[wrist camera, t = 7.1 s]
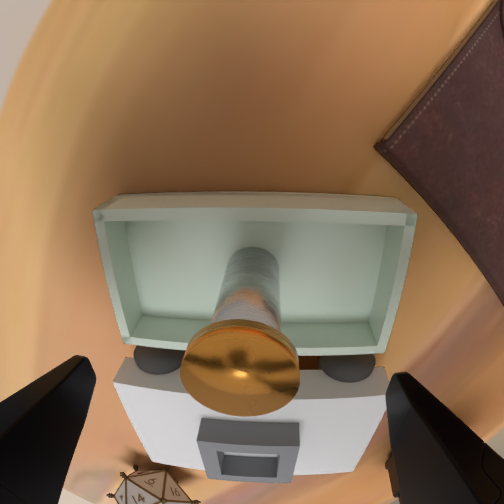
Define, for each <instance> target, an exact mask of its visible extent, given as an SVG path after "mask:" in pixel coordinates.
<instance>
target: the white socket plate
mask: <svg viewBox="0 0 504 504" xmlns="http://www.w3.org/2000/svg"><path fill="white" fill-rule="evenodd" d="M185 351H186V350H175V349H165V348H156V347H148V346H139V345H137V347H136V348H135V350H134V358H129V357H125V359H124V361H123V363H122V365H121V367H120V369H119V371H118V372H117V374H116V376H115V378H114V380H113V384H114V386H115V389H116V391H117V393H118V395H119V398H120V400H121V402H122V404H123V406H124V409H125V411H126V413H127V415H128V417H129V419H130V421H131V423H132V425H133V427H134V429H135V431H136V433H137V435H138V437H139V439H140V440H141V442H142V444H143V446H144V448H145V450H146V451H147V453H148V455H149V457H150V459H151V460H152V462H156V463H161V464H167V465H172V466H178V467H185V468H191V469H199V470H205V471H206V474H207V477H208V479H217V480H227V481H240V482H259V483H291V480H292V477H293V475H312V474H330V473H342V472H352V471H353V470H354V468H355V467H356V465H357V463H358V462H359V460H360V458H361V456H362V455H363V453H364V451H365V449H366V447H367V446H368V444H369V442H370V440H371V438H372V436H373V434H374V432H375V431H376V429H377V427H378V425H379V423H380V421H381V419H382V417H383V414H384V412H385V410H386V400H385V394H386V390H387V388H388V385H389V380H388V377H387V375H386V372H385V369H384V367H374V366H375V357H374V355H373V354H357V355H321V356H320V360H319V365H318V370H299V372H300V386H299V389H298V392H297V394H296V395H295V397H294V398H293V399H292V400H291V401H290V402H289V403H288V404H287V405H285V406H284V407H282V408H280V409H279V410H276V411H274V412H271V413H268V414H264V415H259V416H249V417H243V416H232V415H227V414H223V413H219V412H216V411H214V410H211V409H209V408H207V407H205V406H203V405H202V404H200V403H199V402H197V401H196V400H195V399H194V398H193V397H192V396H191V395H190V394H189V393H188V392H187V391H186V389H185V388H184V386H183V384H182V381H181V377H180V367H181V364H182V360H183V357H184V354H185Z"/></svg>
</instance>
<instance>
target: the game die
mask: <svg viewBox="0 0 504 504" xmlns="http://www.w3.org/2000/svg"><path fill="white" fill-rule="evenodd" d="M133 468H134V470H135V472H133V473H131V474H130V475H128V476H127V475H126V474H125V473H124V472H120V476H122V478H124V480H123V481H122V483H121V485H120V486H119V488H118V489H117V491H116V493H115V494H114V495H113V494H112V493H111V494H110V493H109V494H107V496H108V497H109V498H110V497H111V498H113V497H114V498H115V500H116V501H117V503H118V504H199V503H201V502H200V501H198V500H194V501H192V500H191V499H190V498H189V497H188V496H187V494H186V493H185V492H184V491H183V490H182V488H181V487H180V486H179V485H178V482H176V481H175V480H174V478H173V477H172V476H171V475H170V473H169V472H168V470H169V468H170V465H165V469H164V470H138V466H136V465H134V466H133Z"/></svg>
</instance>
